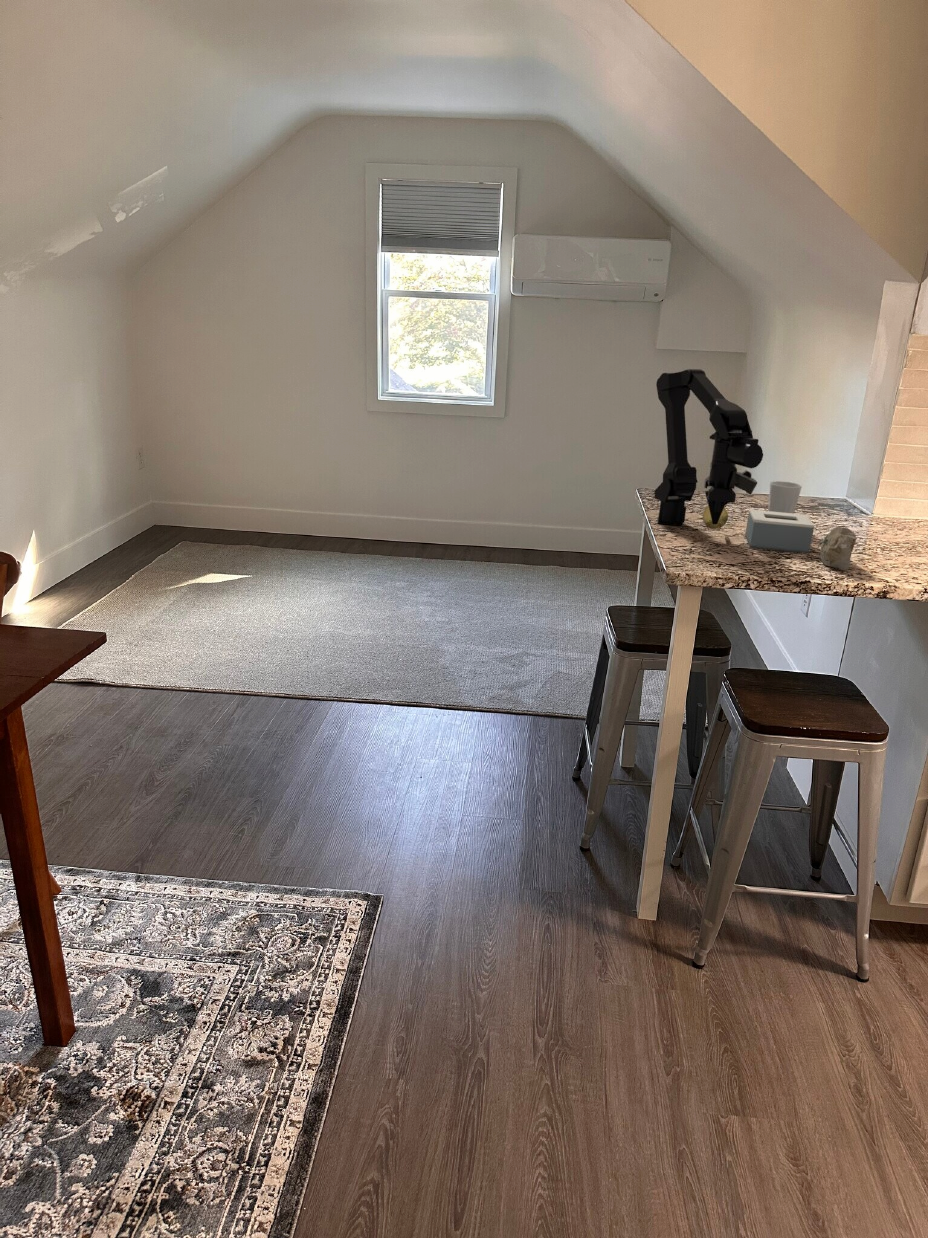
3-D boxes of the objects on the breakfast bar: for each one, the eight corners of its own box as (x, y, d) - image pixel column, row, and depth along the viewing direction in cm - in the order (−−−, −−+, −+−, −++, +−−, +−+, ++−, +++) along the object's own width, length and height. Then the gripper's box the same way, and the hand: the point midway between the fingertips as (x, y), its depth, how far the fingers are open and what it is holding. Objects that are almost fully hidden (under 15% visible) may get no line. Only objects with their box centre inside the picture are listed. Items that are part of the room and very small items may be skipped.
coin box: (749, 547, 223) (754, 519, 221) (744, 535, 235) (749, 509, 232) (809, 553, 221) (814, 525, 219) (801, 541, 232) (806, 514, 230)
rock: (816, 550, 220) (830, 515, 213) (844, 557, 218) (859, 523, 212) (813, 577, 211) (828, 542, 204) (842, 585, 209) (858, 550, 203)
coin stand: (694, 540, 227) (695, 537, 227) (693, 535, 231) (694, 532, 231) (729, 544, 226) (730, 540, 225) (728, 539, 230) (728, 536, 230)
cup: (795, 533, 241) (803, 488, 237) (764, 530, 242) (772, 485, 238) (791, 526, 248) (799, 482, 244) (761, 523, 249) (768, 480, 245)
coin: (701, 528, 227) (704, 504, 225) (701, 525, 229) (703, 502, 227) (726, 529, 226) (729, 506, 224) (725, 527, 228) (728, 504, 226)
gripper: (762, 470, 212) (751, 535, 217) (753, 457, 229) (743, 517, 234) (713, 465, 213) (703, 530, 219) (708, 453, 231) (699, 513, 236)
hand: (714, 522), depth 227 cm, fingers closed on coin, 2 cm apart
